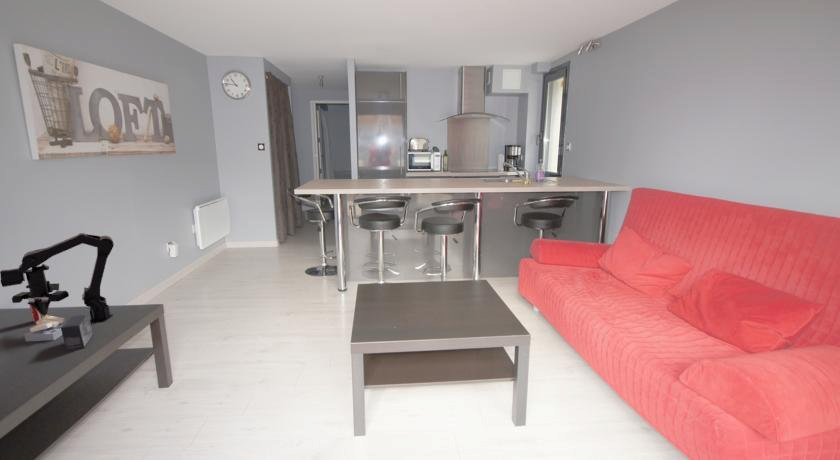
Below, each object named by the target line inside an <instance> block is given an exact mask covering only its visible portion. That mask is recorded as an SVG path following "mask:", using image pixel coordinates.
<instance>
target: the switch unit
mask: <svg viewBox="0 0 840 460" xmlns="http://www.w3.org/2000/svg"><path fill="white" fill-rule="evenodd" d="M66 322H67V321H65V322H63V323H61V324H59V325H58V326H56V327H55V328H53V327H49V328H47V329H43V330H39V331H34V332H31V331H30V330H29V331H28V332H27V333H25V334H23V336H24V340H25V342H39V341H40V342H41V341H55V340H57V339H58V338H60V337H61V336H63V335H62V331H61V327H62V326H63V325H64V324H65V323H66Z"/></svg>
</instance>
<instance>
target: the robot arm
mask: <svg viewBox="0 0 840 460" xmlns="http://www.w3.org/2000/svg"><path fill="white" fill-rule="evenodd" d="M80 245H87V246H91V247H93V248H96V258H95V262H94V266H93V271H92V274H91V280H90V283H89V286H88V287H84V288H83V293H82V295H81V298H82V301H83V304H84V305H85V306H86V307H88V308H89V311H88V312H89V317H90V322H92V323H93V322H94V323H95V322H105V321H107V320H108V319H110V318H111V317H112V316H113V315H114V314H112V313H111V311H110V306H109V304H108V303H107V299H106V297H104V296H102V295H101V284H102V281H103V278H104V277H103V276H104V273H105V268H106V264H107V259H108V258H109V256H110V254H111V252H112V250H113V248H114V241H113V239H112V237H111V236H110V235H109V236H108V235H102V236H100V235H95V234H88V233H84V232H81V233H78V234H77V235H74V236H71V237H69V238H67V239H65V240H63V241H60V242H58V243H55V244H52V245H51V246H47V247H44V248H39V249H35V250H31V251H28V252H26V253H24V255H23V256H22V260H21V264H20V265H19V266H18V268H12V269H11V268H10V269H2V270H0V284H1V286H2V287H3V288H6V287H11V286H17V285H22V284H23V282H25V281H26V280H27V285H25V288H26V289H29V291H21V292H18V293H17V294H14V295H13V296H12V298H11V303H13V304H15V303H16V304H17V303H21V302H22V301H23V300H27V301H28V302H27V305H29V304H30V305H31V306H33V307H34V308H35V309H37V310H38V311H39V312H40V313H41V314H42V315H47V313H48V311H49V307H50V304H51V302H52V303H53V302H54V303H55V302H60V301H63V300H64V299H66V298H68V297H69V295H70V294H69V292H68V291H67V290H60V283H58V282H57V283H50V281H49V280H47V279H46V274H45V271H48V270H49V269H50V265H46V264H45V263H44V262H46V261H48V260H49V259H50V258H52V257H54V256H57V255H59V254H61V253H63V252H66V251H68V250H70V249H72V248H75V247H77V246H80ZM25 276H26V277H25ZM30 305H29V306H30Z"/></svg>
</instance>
